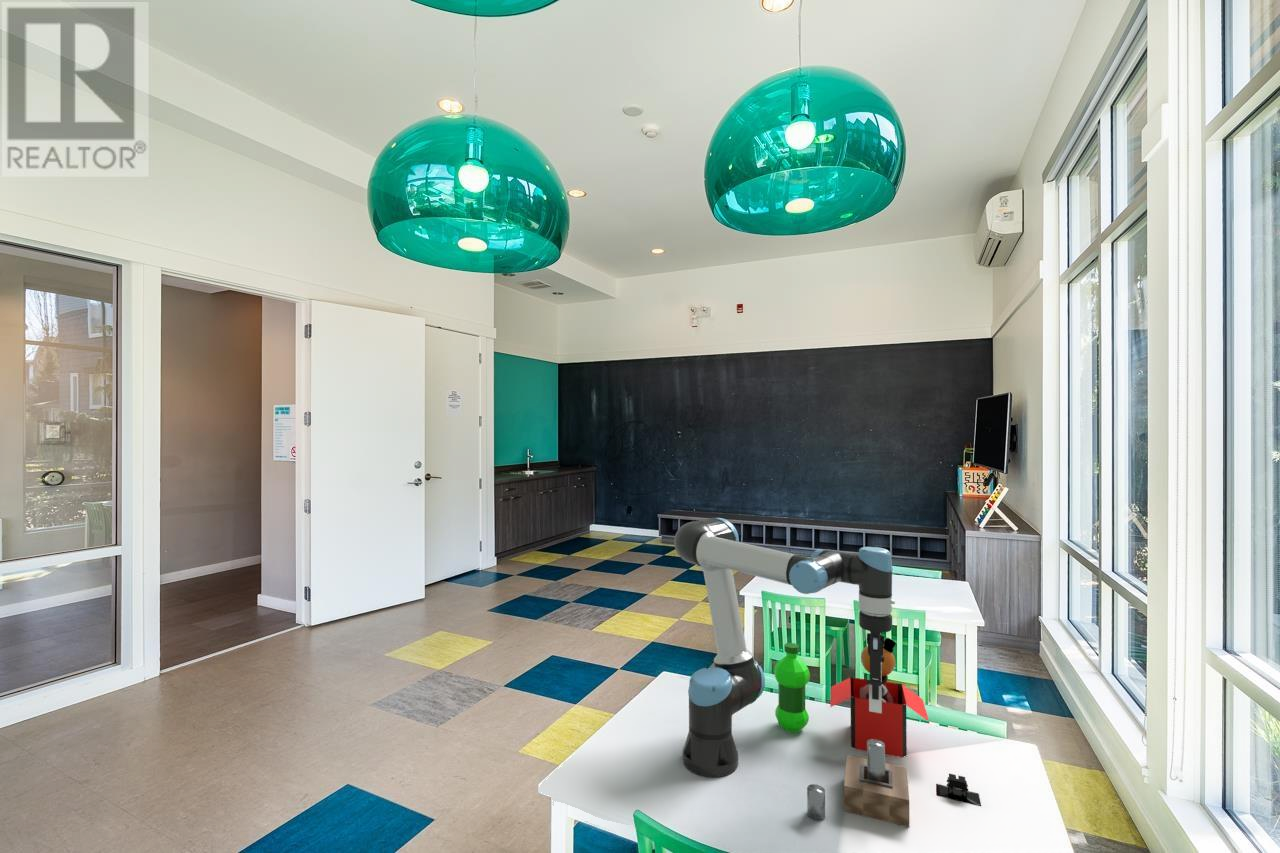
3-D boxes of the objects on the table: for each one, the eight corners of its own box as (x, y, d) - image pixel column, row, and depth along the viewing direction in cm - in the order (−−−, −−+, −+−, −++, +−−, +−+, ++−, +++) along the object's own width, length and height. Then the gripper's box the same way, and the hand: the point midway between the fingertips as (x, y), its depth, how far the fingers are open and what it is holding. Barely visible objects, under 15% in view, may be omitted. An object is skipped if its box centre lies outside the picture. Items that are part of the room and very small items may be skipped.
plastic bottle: (793, 740, 168) (793, 654, 169) (767, 725, 177) (767, 643, 177) (816, 730, 174) (816, 647, 174) (790, 716, 182) (789, 637, 183)
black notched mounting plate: (985, 795, 143) (984, 776, 144) (988, 812, 137) (987, 793, 137) (929, 782, 149) (929, 764, 149) (929, 798, 142) (929, 779, 142)
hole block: (844, 811, 136) (844, 784, 137) (847, 778, 149) (847, 753, 149) (909, 826, 131) (909, 798, 131) (906, 791, 144) (906, 766, 144)
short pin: (806, 818, 134) (806, 792, 134) (808, 807, 138) (808, 782, 138) (824, 822, 132) (824, 796, 133) (825, 812, 136) (825, 786, 136)
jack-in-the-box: (922, 734, 172) (921, 633, 172) (929, 762, 157) (929, 651, 158) (831, 719, 180) (831, 623, 181) (830, 745, 166) (830, 640, 166)
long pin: (867, 804, 139) (866, 745, 139) (867, 794, 143) (867, 737, 143) (885, 808, 138) (884, 749, 138) (885, 798, 141) (884, 741, 141)
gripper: (893, 629, 128) (893, 726, 128) (891, 600, 151) (891, 681, 151) (857, 625, 131) (857, 719, 131) (860, 597, 154) (860, 677, 154)
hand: (875, 699), depth 141 cm, fingers open, 13 cm apart
